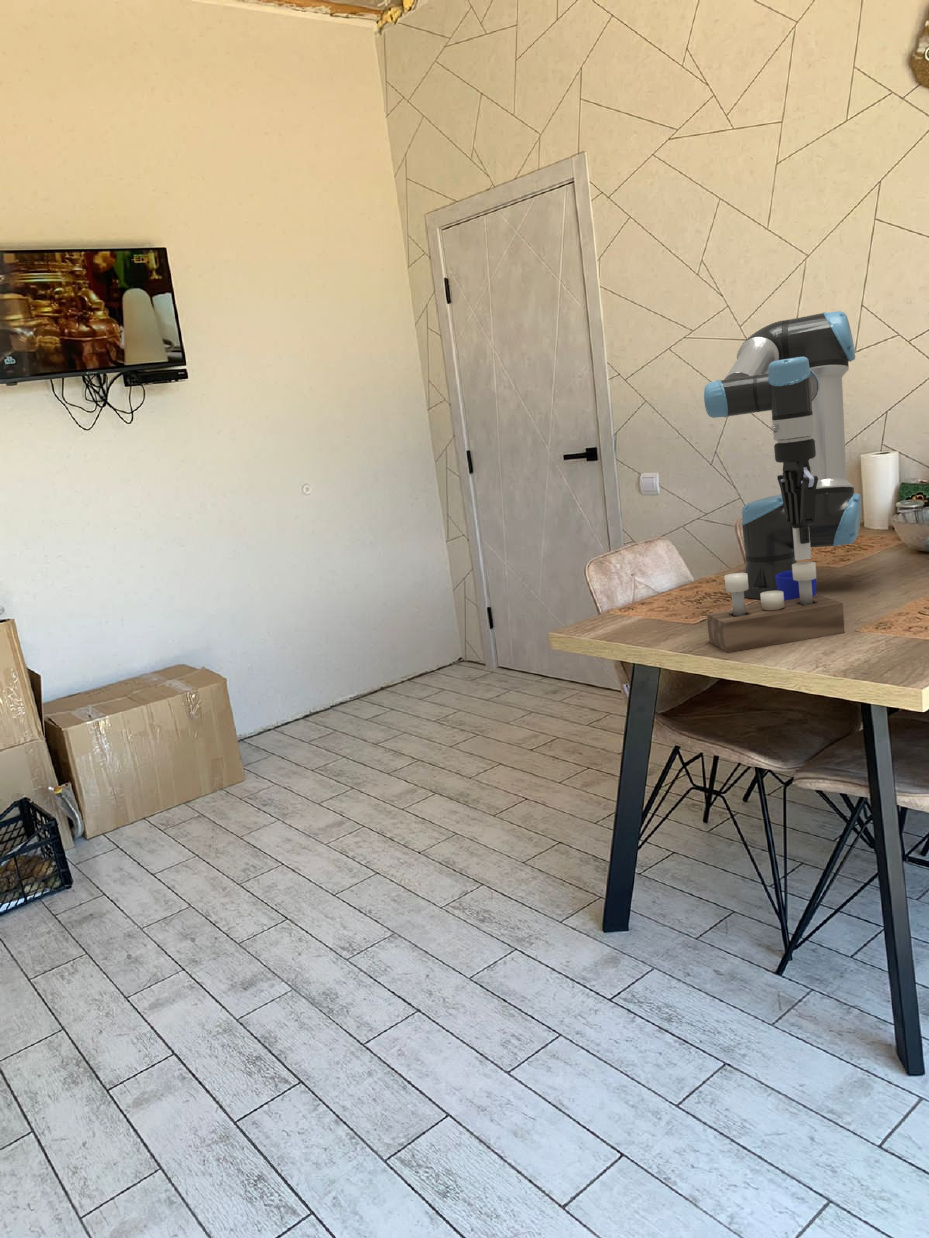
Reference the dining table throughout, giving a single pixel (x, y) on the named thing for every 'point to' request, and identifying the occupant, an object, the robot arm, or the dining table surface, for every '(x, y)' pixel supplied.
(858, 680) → the dining table surface
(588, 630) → the dining table surface
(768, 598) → the knob
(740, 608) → the knob
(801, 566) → the knob
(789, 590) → the mug
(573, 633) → the dining table surface
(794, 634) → the mount
